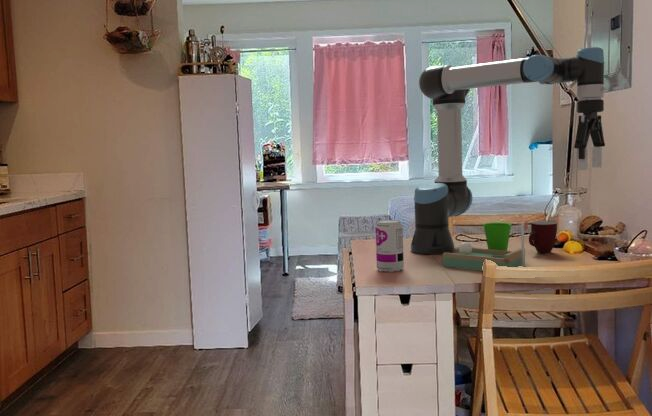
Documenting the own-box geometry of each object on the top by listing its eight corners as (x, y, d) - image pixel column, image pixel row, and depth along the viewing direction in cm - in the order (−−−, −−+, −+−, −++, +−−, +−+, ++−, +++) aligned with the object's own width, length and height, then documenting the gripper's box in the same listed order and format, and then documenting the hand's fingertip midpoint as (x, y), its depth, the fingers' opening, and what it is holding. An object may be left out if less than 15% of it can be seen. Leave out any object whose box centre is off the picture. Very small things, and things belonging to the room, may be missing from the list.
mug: (542, 256, 191) (542, 226, 189) (521, 253, 197) (521, 224, 196) (561, 252, 197) (561, 222, 196) (540, 249, 203) (540, 220, 202)
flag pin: (518, 270, 173) (518, 222, 172) (524, 267, 177) (523, 221, 175) (525, 270, 172) (524, 223, 171) (530, 268, 175) (530, 221, 174)
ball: (456, 255, 184) (456, 242, 184) (462, 253, 187) (462, 240, 187) (468, 256, 181) (468, 243, 181) (474, 254, 184) (474, 241, 184)
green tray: (443, 266, 183) (442, 249, 183) (462, 259, 192) (461, 243, 191) (507, 273, 169) (507, 255, 169) (525, 266, 178) (524, 248, 178)
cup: (497, 261, 186) (496, 227, 185) (477, 257, 194) (476, 224, 193) (518, 258, 190) (518, 224, 189) (498, 254, 198) (497, 221, 197)
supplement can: (385, 273, 176) (383, 224, 175) (372, 268, 184) (370, 221, 182) (408, 270, 180) (407, 221, 178) (395, 265, 187) (393, 218, 185)
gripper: (589, 97, 170) (589, 171, 172) (615, 99, 189) (614, 166, 191) (563, 99, 175) (563, 171, 177) (590, 101, 194) (590, 166, 196)
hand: (589, 168), depth 184 cm, fingers open, 13 cm apart
